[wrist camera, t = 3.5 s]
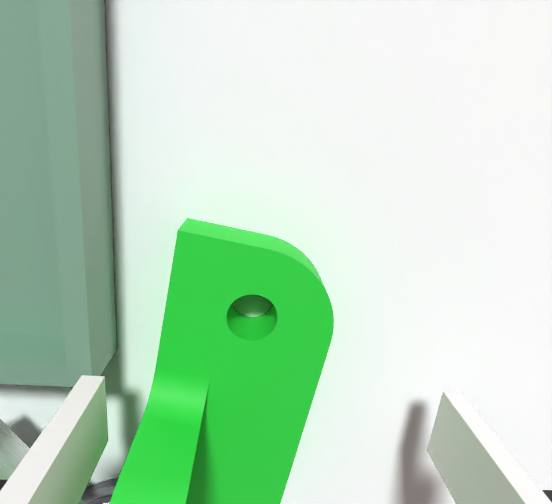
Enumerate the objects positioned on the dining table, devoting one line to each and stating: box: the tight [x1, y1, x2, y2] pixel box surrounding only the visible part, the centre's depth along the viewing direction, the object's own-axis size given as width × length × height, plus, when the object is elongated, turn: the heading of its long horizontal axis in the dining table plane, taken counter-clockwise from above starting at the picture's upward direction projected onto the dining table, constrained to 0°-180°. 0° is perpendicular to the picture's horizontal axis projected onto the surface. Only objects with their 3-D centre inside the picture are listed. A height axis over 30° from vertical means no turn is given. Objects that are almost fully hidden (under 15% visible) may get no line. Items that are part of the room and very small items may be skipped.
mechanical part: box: [109, 218, 334, 504], centre depth 12 cm, size 12×6×8 cm, turn 167°
